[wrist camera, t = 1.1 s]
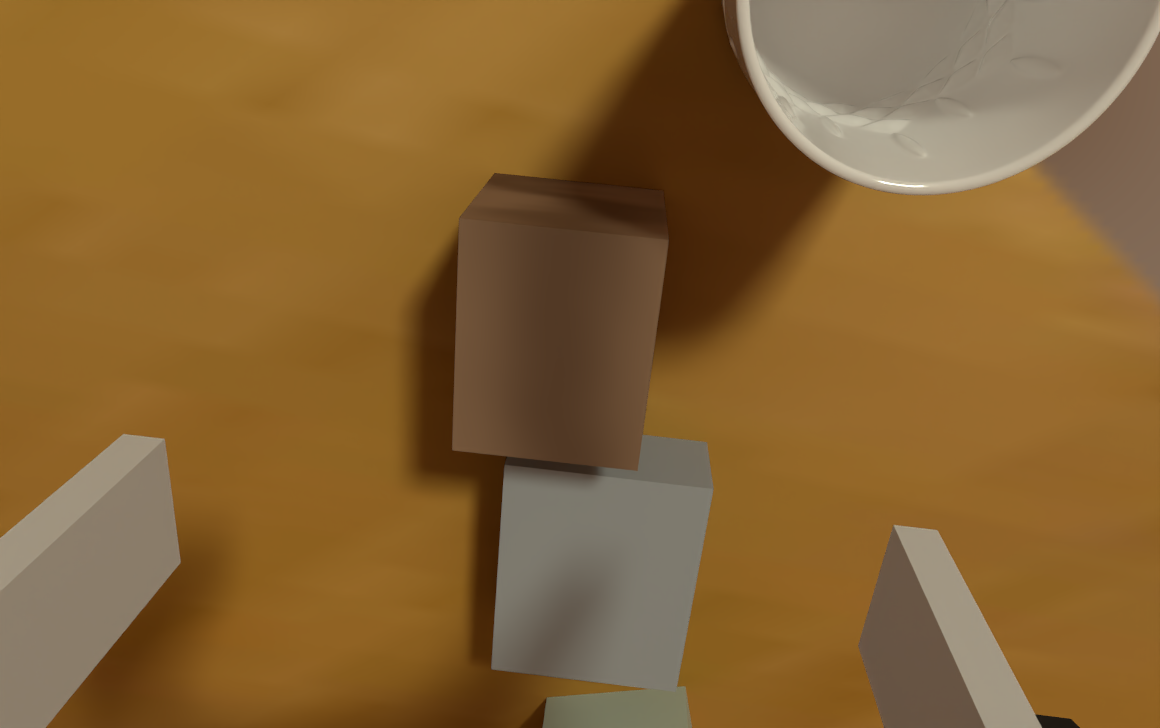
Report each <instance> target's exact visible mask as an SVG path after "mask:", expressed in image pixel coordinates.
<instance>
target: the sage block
mask: <svg viewBox="0 0 1160 728" xmlns="http://www.w3.org/2000/svg"><path fill="white" fill-rule="evenodd" d="M543 728H692V725H691V719H690V713H689V706H688V700H687V694H686V688H685V686H684V687H677V688H676V692H672V691H664V690H656V689H647V690H634V691H622V692H609V693H597V694H585V695H572V696H560V697H547V699H546V707H545V714H544V721H543Z"/></svg>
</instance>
